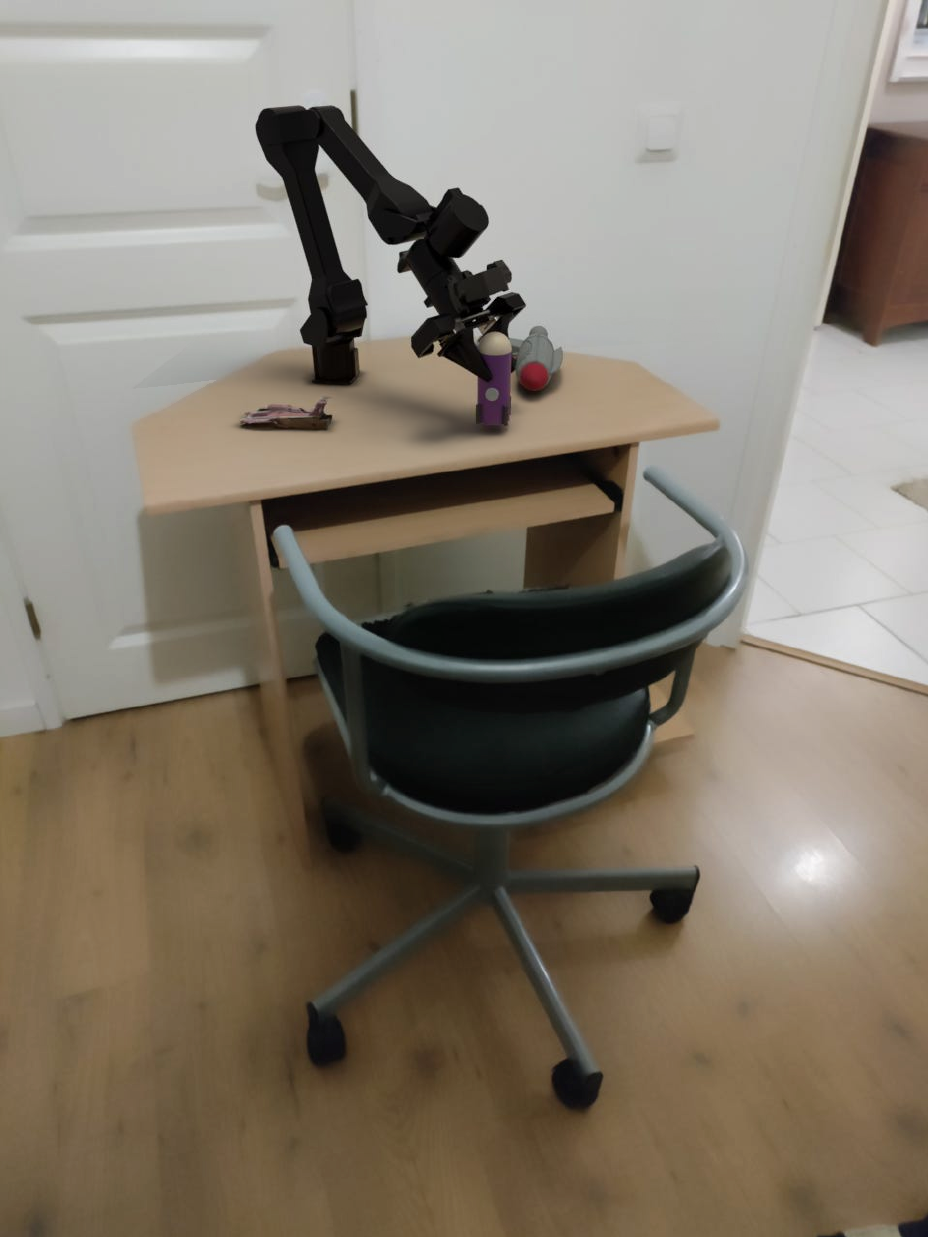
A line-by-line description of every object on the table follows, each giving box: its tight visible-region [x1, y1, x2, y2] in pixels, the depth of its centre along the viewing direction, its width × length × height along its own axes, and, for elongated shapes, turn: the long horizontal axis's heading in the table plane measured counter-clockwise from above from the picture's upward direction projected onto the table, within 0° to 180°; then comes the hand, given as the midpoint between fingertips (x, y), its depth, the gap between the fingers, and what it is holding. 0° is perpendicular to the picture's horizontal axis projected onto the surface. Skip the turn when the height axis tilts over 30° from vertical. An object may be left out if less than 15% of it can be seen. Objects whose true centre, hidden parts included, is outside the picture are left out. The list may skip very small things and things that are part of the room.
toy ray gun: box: [474, 325, 564, 392], centre depth 147 cm, size 6×25×15 cm
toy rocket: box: [475, 332, 512, 427], centre depth 125 cm, size 5×5×12 cm
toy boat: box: [239, 395, 333, 430], centre depth 129 cm, size 13×6×4 cm, turn 84°
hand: (501, 376), depth 124 cm, fingers closed on toy rocket, 4 cm apart
